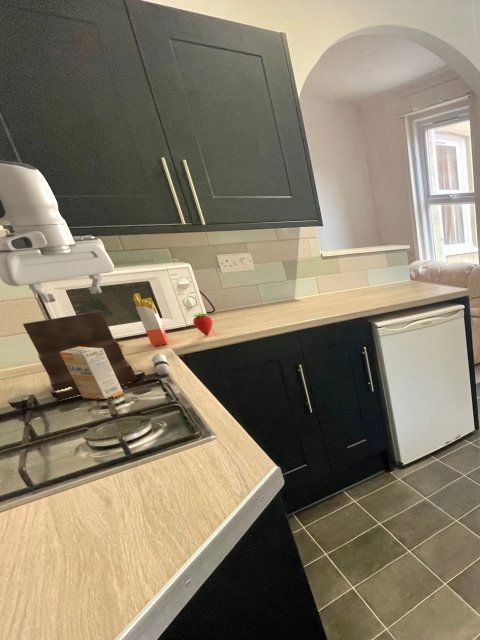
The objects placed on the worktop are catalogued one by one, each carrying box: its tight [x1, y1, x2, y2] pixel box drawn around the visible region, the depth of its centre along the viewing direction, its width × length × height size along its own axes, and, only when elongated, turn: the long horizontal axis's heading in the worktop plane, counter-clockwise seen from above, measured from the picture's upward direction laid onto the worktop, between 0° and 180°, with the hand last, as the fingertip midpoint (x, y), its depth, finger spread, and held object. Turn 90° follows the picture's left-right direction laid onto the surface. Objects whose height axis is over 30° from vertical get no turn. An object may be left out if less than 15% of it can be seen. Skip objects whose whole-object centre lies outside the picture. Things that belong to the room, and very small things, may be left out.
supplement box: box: [60, 346, 124, 400], centre depth 108 cm, size 8×5×13 cm, turn 76°
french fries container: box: [133, 293, 169, 347], centre depth 150 cm, size 5×11×18 cm, turn 36°
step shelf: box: [22, 310, 138, 401], centre depth 116 cm, size 16×19×18 cm
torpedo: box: [149, 345, 171, 376], centre depth 127 cm, size 18×5×7 cm, turn 42°
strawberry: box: [192, 313, 213, 336], centre depth 159 cm, size 6×8×10 cm
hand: (74, 297), depth 103 cm, fingers open, 8 cm apart
